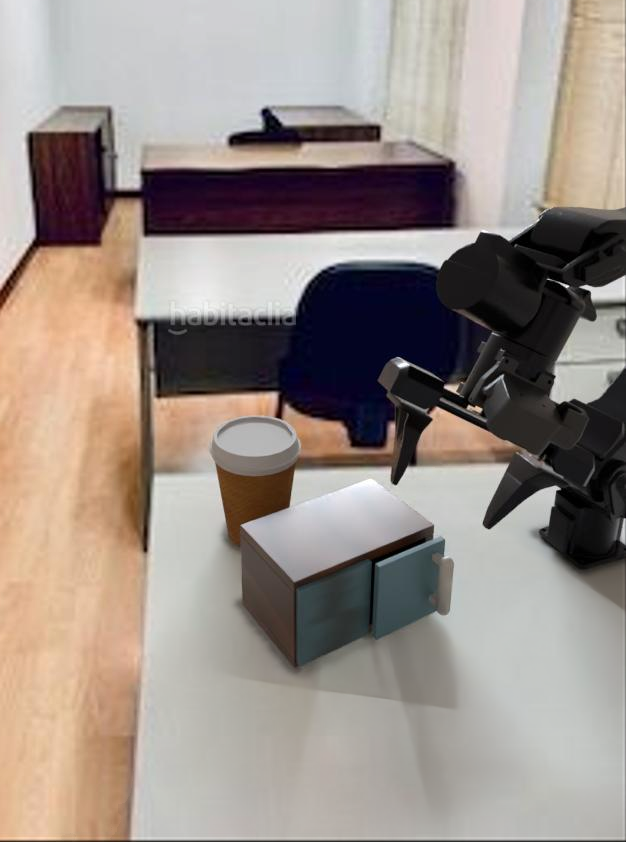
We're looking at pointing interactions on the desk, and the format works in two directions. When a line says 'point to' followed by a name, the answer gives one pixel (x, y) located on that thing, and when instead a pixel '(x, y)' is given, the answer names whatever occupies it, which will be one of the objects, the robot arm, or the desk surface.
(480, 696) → the desk surface
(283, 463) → the disposable coffee cup
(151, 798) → the desk surface
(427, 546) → the sliding door
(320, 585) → the cabinet
